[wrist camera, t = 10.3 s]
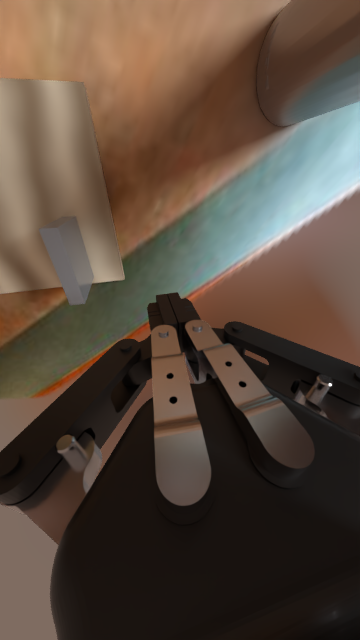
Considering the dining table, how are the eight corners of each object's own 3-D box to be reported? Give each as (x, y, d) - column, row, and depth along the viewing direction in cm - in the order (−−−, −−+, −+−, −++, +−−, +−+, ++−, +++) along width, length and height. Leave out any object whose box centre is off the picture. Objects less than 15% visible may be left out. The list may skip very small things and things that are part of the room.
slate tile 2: (75, 215, 24) (57, 227, 18) (94, 276, 29) (85, 303, 22) (59, 216, 24) (35, 229, 17) (80, 278, 28) (68, 305, 22)
